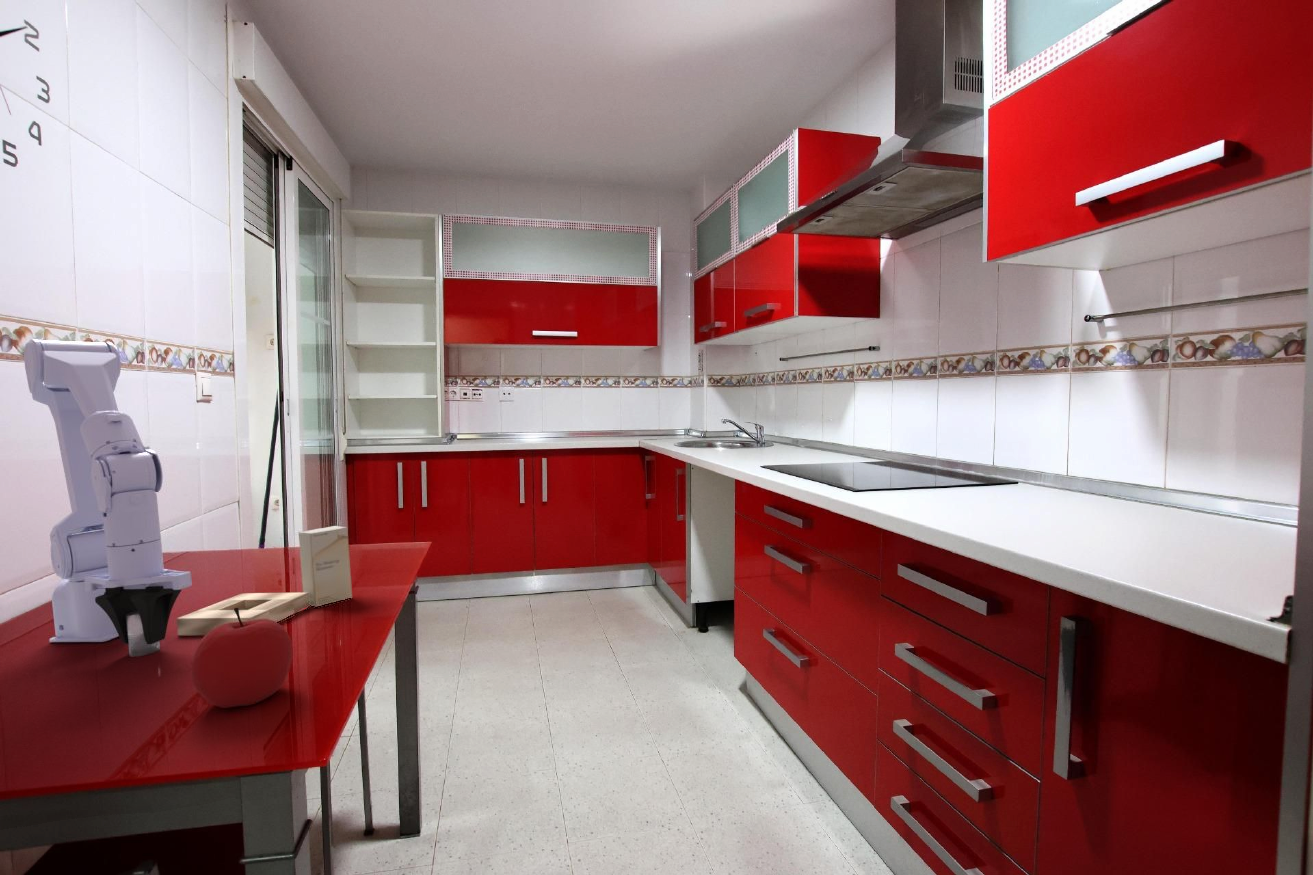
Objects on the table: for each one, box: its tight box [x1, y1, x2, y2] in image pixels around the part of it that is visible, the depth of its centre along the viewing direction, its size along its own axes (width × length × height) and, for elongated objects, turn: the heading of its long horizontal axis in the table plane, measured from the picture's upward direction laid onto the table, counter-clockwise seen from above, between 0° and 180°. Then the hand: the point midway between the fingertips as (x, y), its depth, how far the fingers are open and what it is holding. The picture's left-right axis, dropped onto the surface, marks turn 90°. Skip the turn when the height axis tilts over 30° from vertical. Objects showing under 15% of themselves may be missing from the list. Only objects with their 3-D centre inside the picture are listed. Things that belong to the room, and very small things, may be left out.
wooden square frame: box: [176, 591, 311, 636], centre depth 96 cm, size 12×12×2 cm
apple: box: [190, 608, 294, 709], centre depth 68 cm, size 9×9×10 cm
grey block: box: [126, 610, 161, 658], centre depth 85 cm, size 3×3×6 cm
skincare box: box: [298, 525, 353, 607], centre depth 104 cm, size 6×4×12 cm
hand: (143, 641), depth 85 cm, fingers closed on grey block, 3 cm apart
